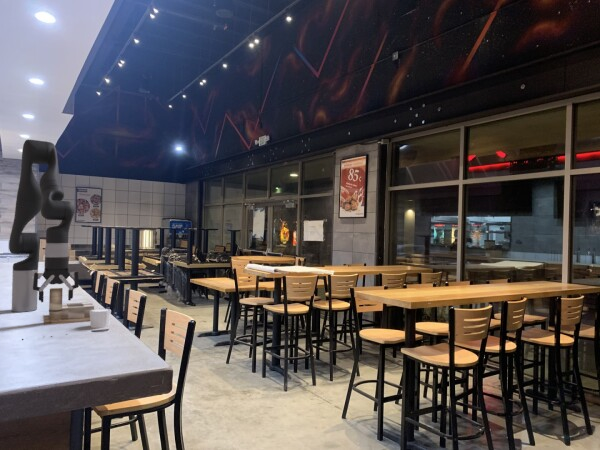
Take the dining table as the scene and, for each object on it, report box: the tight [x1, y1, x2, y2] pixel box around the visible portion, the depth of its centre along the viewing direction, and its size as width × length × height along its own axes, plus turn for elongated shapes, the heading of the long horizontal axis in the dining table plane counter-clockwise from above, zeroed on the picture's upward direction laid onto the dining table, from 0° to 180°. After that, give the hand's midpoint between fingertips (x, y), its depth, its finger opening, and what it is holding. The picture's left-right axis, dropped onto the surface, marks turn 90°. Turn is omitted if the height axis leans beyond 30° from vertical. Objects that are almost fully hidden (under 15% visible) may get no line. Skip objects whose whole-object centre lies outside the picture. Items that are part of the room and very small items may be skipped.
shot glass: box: [89, 308, 112, 333], centre depth 149 cm, size 7×7×7 cm
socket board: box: [42, 301, 95, 326], centre depth 161 cm, size 20×17×6 cm
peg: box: [48, 287, 63, 323], centre depth 154 cm, size 4×4×12 cm
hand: (55, 301), depth 154 cm, fingers open, 8 cm apart
